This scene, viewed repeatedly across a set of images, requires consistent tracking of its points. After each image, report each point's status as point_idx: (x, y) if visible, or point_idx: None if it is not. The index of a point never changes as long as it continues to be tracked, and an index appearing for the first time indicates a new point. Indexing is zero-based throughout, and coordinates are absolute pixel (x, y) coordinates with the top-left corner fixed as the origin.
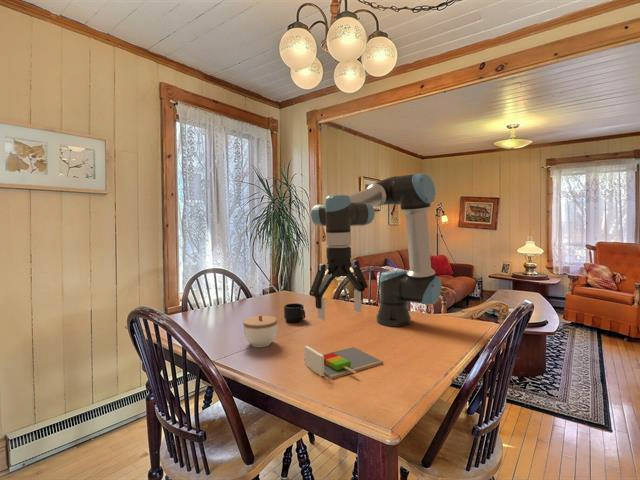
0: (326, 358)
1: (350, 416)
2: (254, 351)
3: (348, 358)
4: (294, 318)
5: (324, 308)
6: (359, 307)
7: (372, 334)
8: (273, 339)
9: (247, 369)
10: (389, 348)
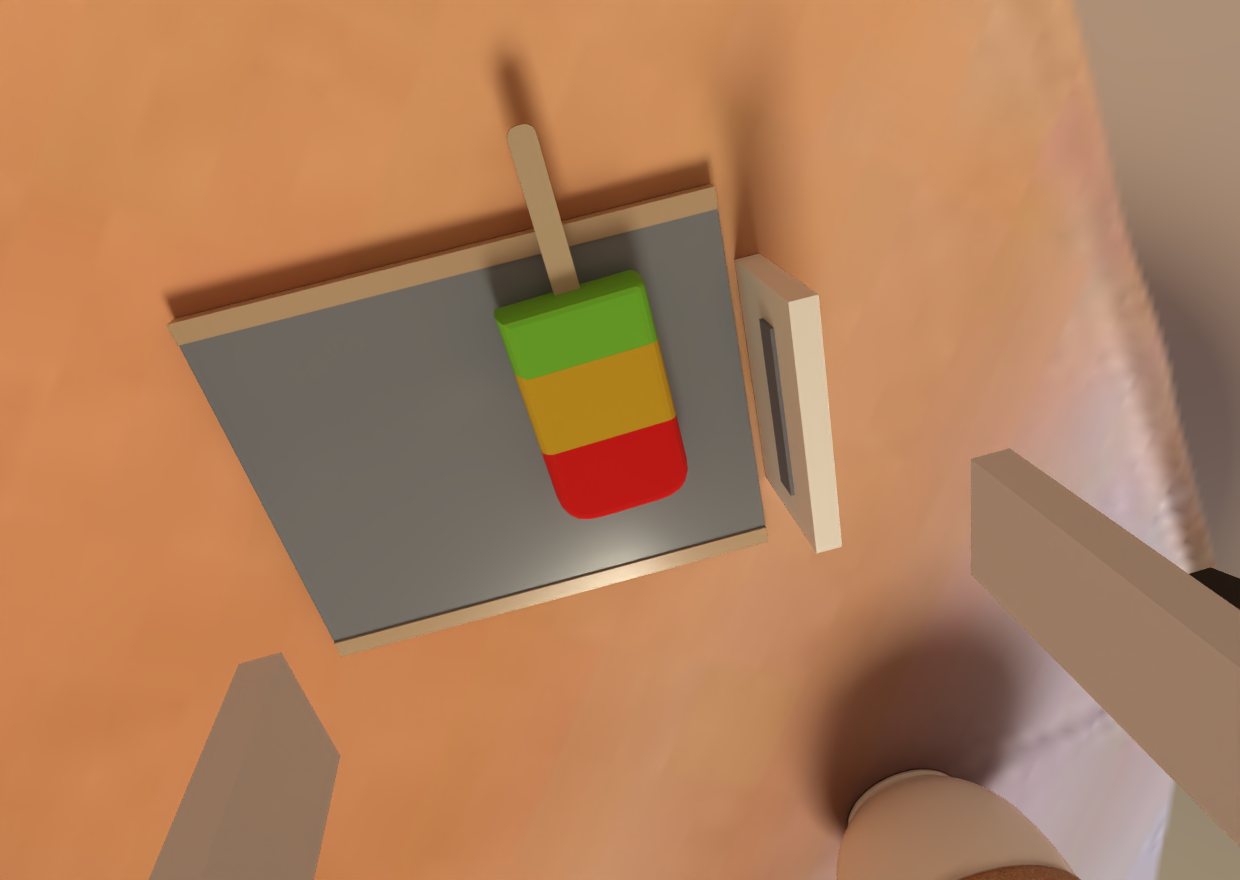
0: (666, 433)
1: None
2: (979, 723)
3: (453, 464)
4: None
5: (1112, 560)
6: (254, 717)
7: (94, 845)
8: (858, 819)
9: (1122, 502)
10: (14, 583)
